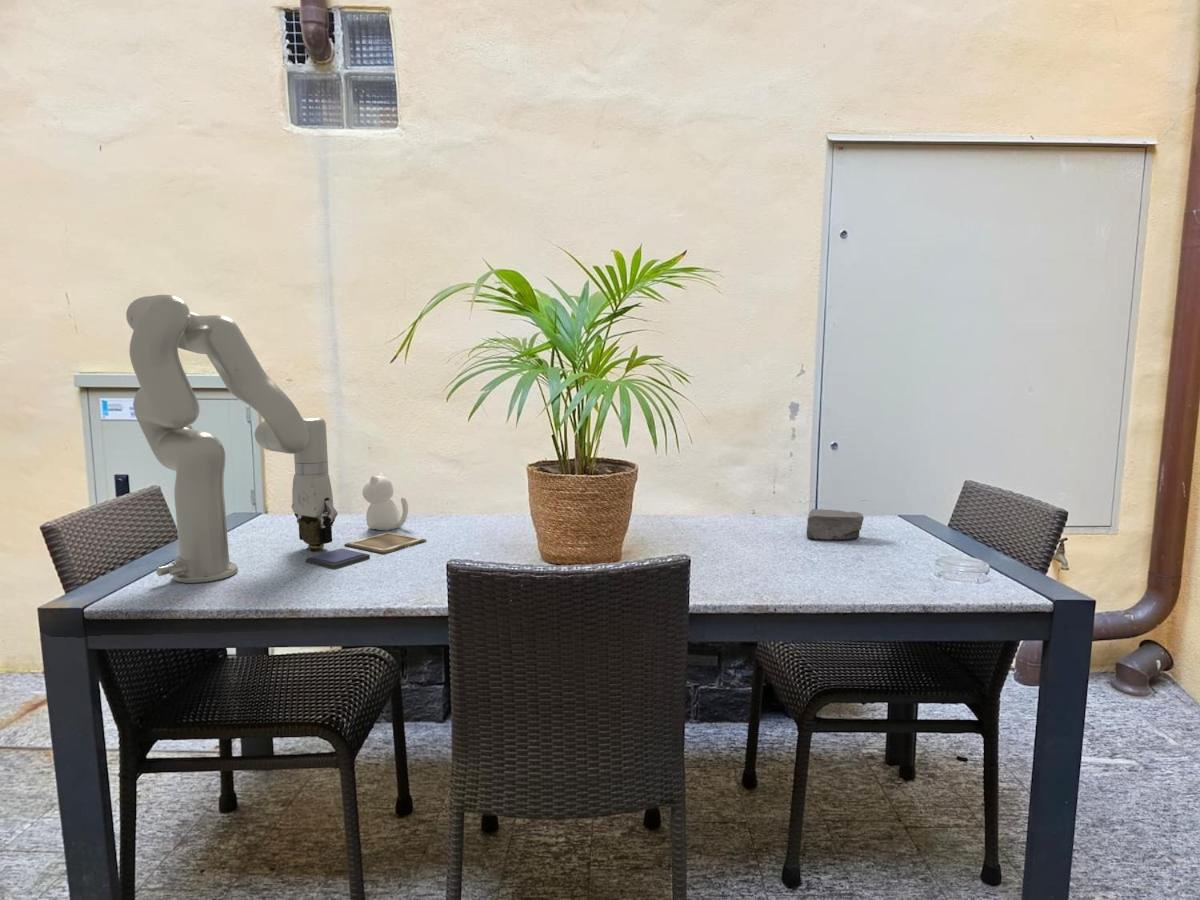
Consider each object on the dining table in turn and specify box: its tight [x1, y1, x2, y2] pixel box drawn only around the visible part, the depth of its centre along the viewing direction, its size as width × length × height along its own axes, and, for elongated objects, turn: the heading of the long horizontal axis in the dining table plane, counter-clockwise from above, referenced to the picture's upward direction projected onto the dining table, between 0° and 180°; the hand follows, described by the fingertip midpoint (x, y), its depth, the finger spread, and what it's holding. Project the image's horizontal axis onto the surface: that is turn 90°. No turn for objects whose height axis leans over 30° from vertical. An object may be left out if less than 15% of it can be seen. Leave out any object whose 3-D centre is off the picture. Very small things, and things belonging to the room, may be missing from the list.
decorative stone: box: [806, 508, 864, 542], centre depth 198 cm, size 15×7×10 cm
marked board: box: [344, 531, 427, 555], centre depth 194 cm, size 14×14×1 cm
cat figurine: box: [362, 471, 409, 531], centre depth 209 cm, size 9×12×15 cm
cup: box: [298, 516, 326, 552], centre depth 188 cm, size 8×7×8 cm
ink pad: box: [305, 548, 371, 570], centre depth 180 cm, size 10×10×1 cm
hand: (315, 540), depth 188 cm, fingers closed on cup, 7 cm apart
